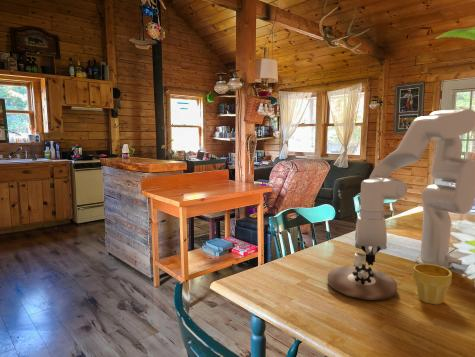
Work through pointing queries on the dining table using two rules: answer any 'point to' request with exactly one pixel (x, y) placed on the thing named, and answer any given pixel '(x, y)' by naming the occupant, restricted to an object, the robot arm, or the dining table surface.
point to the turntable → (376, 290)
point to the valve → (361, 268)
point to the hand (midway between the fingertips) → (370, 263)
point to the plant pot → (432, 282)
